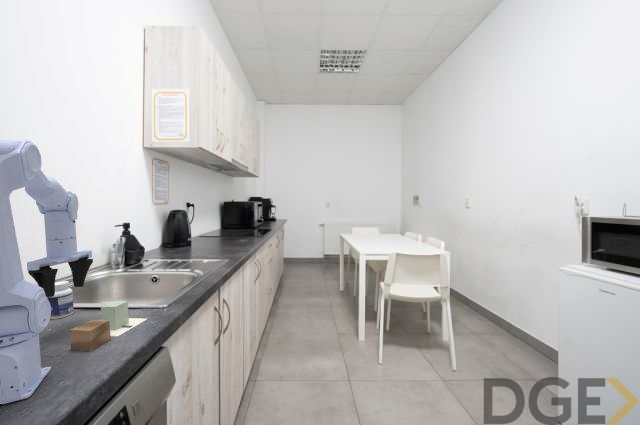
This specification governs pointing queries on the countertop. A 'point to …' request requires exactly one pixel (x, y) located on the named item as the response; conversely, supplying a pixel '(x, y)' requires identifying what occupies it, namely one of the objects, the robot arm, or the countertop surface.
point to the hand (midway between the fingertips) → (64, 291)
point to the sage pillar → (115, 314)
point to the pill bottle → (61, 301)
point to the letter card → (127, 326)
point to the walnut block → (90, 335)
